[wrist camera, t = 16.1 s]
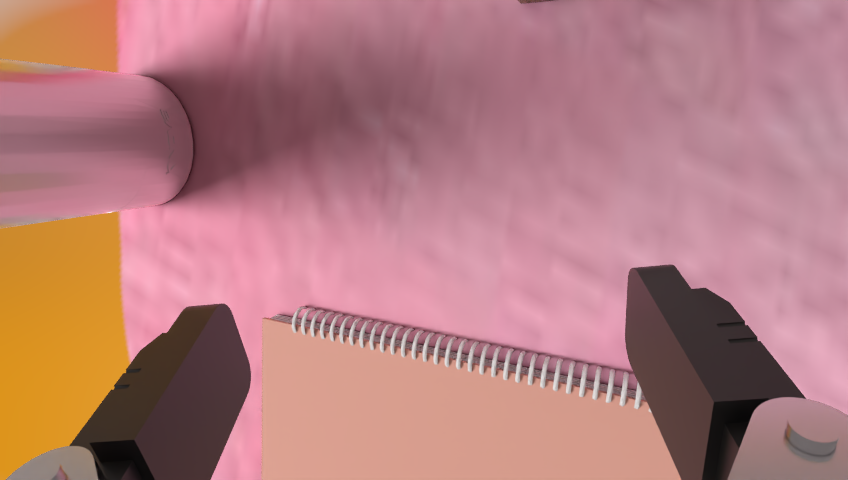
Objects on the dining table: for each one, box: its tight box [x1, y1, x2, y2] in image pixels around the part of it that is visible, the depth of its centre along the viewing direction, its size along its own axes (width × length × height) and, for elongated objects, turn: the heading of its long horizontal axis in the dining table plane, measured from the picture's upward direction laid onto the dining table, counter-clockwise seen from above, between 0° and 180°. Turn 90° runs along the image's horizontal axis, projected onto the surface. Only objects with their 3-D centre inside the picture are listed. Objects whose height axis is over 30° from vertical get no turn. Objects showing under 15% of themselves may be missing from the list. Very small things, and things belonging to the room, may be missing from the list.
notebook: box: [262, 306, 681, 480], centre depth 35 cm, size 27×17×2 cm, turn 86°
